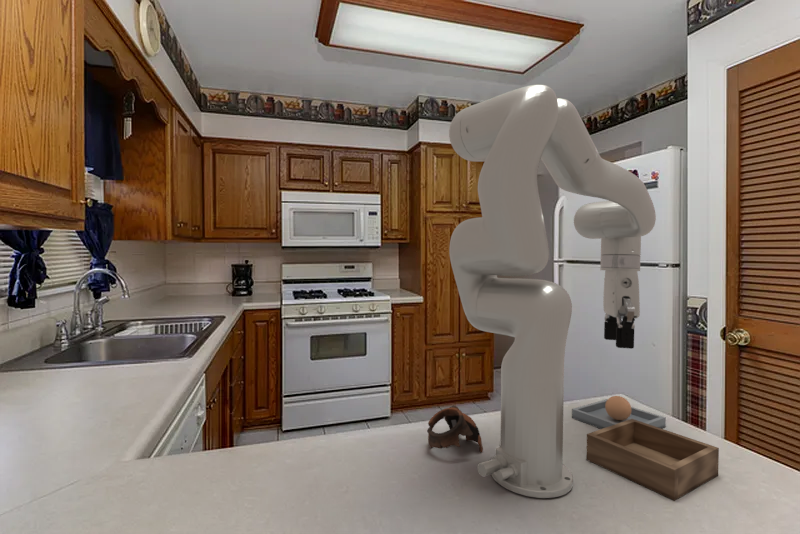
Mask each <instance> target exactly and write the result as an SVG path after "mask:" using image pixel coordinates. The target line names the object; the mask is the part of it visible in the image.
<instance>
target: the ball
mask: <svg viewBox="0 0 800 534" xmlns="http://www.w3.org/2000/svg"><path fill="white" fill-rule="evenodd" d="M607 399H608V400H607V401H606V404H605V409H606V412H607V413H608V415H609V416H610V417H612V418H613V419H615V420H625V419H627V418H628V417H629V416H630V415H631V411H632V410H631V407H632V405H631V403H630V402H629V401H628V400H627V399H626V398H625V397H623V396H620V395H613V396H611V397H609V398H607Z"/></svg>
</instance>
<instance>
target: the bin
mask: <svg viewBox="0 0 800 534" xmlns="http://www.w3.org/2000/svg"><path fill="white" fill-rule="evenodd" d="M719 453H720V448H719V447H717V446H715V445H711V444H709V443H707V442H703V441H700V440H697V439H695V438H691V437H688V436H685V435H683V434H682V435H681V434H678V433H676V432H673V431H670V430H666V429H664V428H662V429H661V428H658V427H655V426H652V425H649V424H646V423H643V422H640V421H637V420H634V419H630V420H627V421H624V422H621V423H618V424H615V425H612V426H609V427H606V428H603V429H600V428H599V429H598V430H595V431H592V432H589V433H587V434H586V460H587V461H588V462H590V463H593V464H595V465H597V466H599V467H601V468H603V469H606V470H607V471H610V472H612V473H614V474H616V475H618V476H621V477H622V478H625V479H627V480H629V481H631V482H633V483H635V484H637V485H640V486H642V487H643V488H646V489H648V490H650V491H653V492H654V493H657V494H659V495H661V496H663V497H664V498H668V499H670V500H672V501H674V502H675V501H676V500H679V499H680V498H682V497H684V496H685V495H687V494H688V493H690V492H692V491H694V490H696V489H697V488H699V487H700V486H703V485H704V484H706V483H708V482H709V481H711V480H713V479H715V478H716V477H718V476H719V462H720V461H719V460H720V459H719V458H720V457H719Z"/></svg>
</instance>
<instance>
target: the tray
mask: <svg viewBox="0 0 800 534" xmlns="http://www.w3.org/2000/svg"><path fill="white" fill-rule="evenodd" d="M608 399H609V398H607V399H602V400H599V401H595V402H592V403H587V404H585V405H582V406H581V405H580V406H578V407H573V408H571V418H572V419H573V420H576V421H579V422H581V423H584V424H587V425H589V426H592V427H595V428H598V429H599V430H600V429H603V428H606V427H609V426H612V425H615V424H618V423H621V422H624V421H627V420H630V419H634V420H637V421H640V422H643V423H646V424H649V425H652V426H655V427H658V428H661V429H664V428H666V427H667V426H666V425H667V423H666V421H667V420H666V417H665V416H663V415H660V414H659V415H658V414H656V413H652V412H651V411H650V412H649V411H646V410H643V409H639V408H638V407H633V406H631V410H632V411H631V415H630V416H629V417H628V418H627V419H625V420H615V419H613V418H612V417H610V416H609V415H608V413H607V412H606V409H605V404H606V401H607V400H608Z"/></svg>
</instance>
